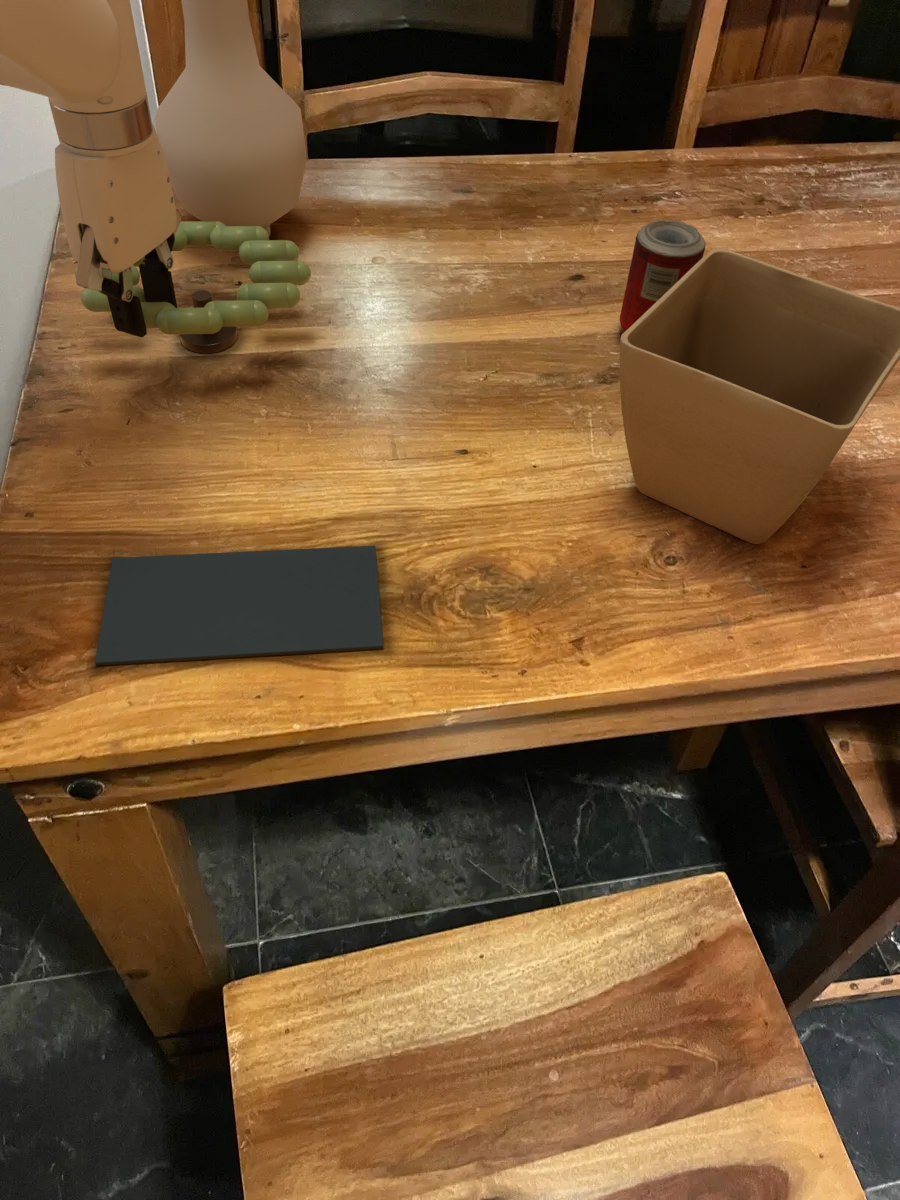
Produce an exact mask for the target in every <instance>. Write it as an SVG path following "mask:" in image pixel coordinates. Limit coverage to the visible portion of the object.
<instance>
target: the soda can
mask: <svg viewBox="0 0 900 1200" xmlns="http://www.w3.org/2000/svg"><path fill="white" fill-rule="evenodd" d="M706 245H707V243H706V240H705V238H704V236H703V234H701V233H700V232H699V231H698V229H697V228H696V227H694V226H693V225H692V224H688V223H686V222H684V221H679V220H665V219H660V220H655V221H652V222H650V223H647V224H645V225H643V226H642V227H641V228H640V229H639V230H638V231H637V233H636V236H635V240H634V246H633V251H632V256H631V261H630V266H629V270H628V275H627V281H626V285H625V290H624V296H623V298H622V299H623V300H622V305H621V309H620V315H619V323H620V327H621V329H622V334H623V333H624V332H625V331H626V330H627V329H629V328H630V327H631V326H632V325H633V324H634V323H635V322H636V321H637V320H638V319H639V318H640V317H641V316H642V315H643V314H644V313H645V312H646V311H647V310H648V309H650V308H651V307H652V306H653V305H654V304H655V303H656V302H657V301H658V300H659V299H660V298H661V297H662V296H663V295H664V294H665V293H666V292H667V291H668V290H670V289H671V288H672V287H673V286H674V285H675V284H676V283H677V282H678V281H679V280H680V279H681V278H682V277H683V276H684V275H685V274H686V273H687V272H688V271H689V270H690V269H691V268H692V267H693V266H694V265H695V264H696V263H698V262H699V261H700V260H701V259H702V258H703V257H704V256H705V255H704V254H705V250H706Z"/></svg>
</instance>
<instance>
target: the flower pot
mask: <svg viewBox="0 0 900 1200" xmlns="http://www.w3.org/2000/svg"><path fill="white" fill-rule="evenodd" d="M620 335H621V336H620V337H619V338H620V340H619V341H620V342H619V393H620V404H621V406H620V407H621V415H622V423H623V431H624V437H625V443H626V449H627V454H628V458H629V459H628V460H629V465H630V469H631V473H632V477H633V480H634V484H635V485H636V486H635V487H636V489H637V490H638V492H640V494H642V495H645V496H646V497H649V498H651V499H653V500H655V501H657V502H660V503H662V504H664V505H666V506H668V507H671V508H673V509H675V510H677V511H679V512H681V513H683V514H686V515H689V516H691V517H692V518H694V519H697V520H699V521H700V522H704V523H706V524H707V525H710V526H712V527H714V528H716V529H719V530H721V531H722V532H725V533H727V534H730V535H732V536H734V537H736V538H738V539H740V540H742V541H745V542H747V543H750V544H753V545H760V544H763V543H765V542H767V541H768V540H769V539H770V537H772V536H773V535H774V534H775V533H776V532H777V531H779V529H780V528H781V527H782V526H783V525H784V524H785V523H786V522H787V520H789V518H791V516H792V515H793V514H794V513H795V511H796V510H797V509H798V508H799V507H800V505H801V504H802V503H803V502H804V501H805V499H806V498H807V497H808V496H809V494H810V493H811V491H812V490H813V488H814V487H815V486H816V485H817V483H818V482H819V481H820V479H821V478H822V476H823V475H824V473H825V472H826V470H827V469H828V468H829V466H830V465H831V463H832V462H833V460H834V458H835V457H836V456H837V454H838V452H839V451H840V450H841V448H842V446H843V445H844V444H845V442H846V440H847V439H848V437H849V436H850V434H851V433H852V431H853V430H854V428H855V426H856V424H857V423H858V422H859V420H860V418H861V417H862V416H863V414H864V412H865V411H866V410H867V408H868V406H869V405H870V404H871V402H872V401H873V399H874V397H875V396H876V395H877V394H878V392H879V390H880V389H881V388H882V386H883V385H884V383H886V380H887V379H888V377H889V376H890V374H891V373H892V371H893V370H894V368H895V367H896V365H897V364H898V363H899V361H900V308H899V307H897V306H894V305H891V304H888V303H885V302H882V301H879V300H876V299H873V298H870V297H867V296H864V295H861V294H858V293H855V292H852V291H849V290H847V289H843V288H840V287H838V286H835V285H833V284H829V283H826V282H823V281H820V280H817V279H815V278H812V277H809V276H806V275H802V274H800V273H796V272H794V271H792V270H788V269H785V268H782V267H779V266H777V265H774V264H771V263H768V262H765V261H762V260H759V259H757V258H755V257H754V258H753V257H751V256H748V255H744V254H741V253H740V252H739V253H738V252H736V251H733V250H730V249H727V248H722V247H716V248H715V247H714V248H713V249H710V250H709V251H708V252H707V253H705V255H703V258H702V259H701V260H700V261H699V262H698V263H696V264H695V265H694V266H693V267H692V268H691V269H690V270H689V271H688V272H687V273H686V274H685V275H684V276H683V277H682V278H681V279H680V280H679V281H678V282H677V283H676V284H675V285H674V286H673V287H672V288H671V289H670V290H668V291H667V292H666V293H665V294H664V295H663V296H662V297H661V298H660V299H659V300H658V301H657V302H656V303H655V304H654V305H653V306H652V307H651V308H650V309H648V310H647V311H646V312H645V313H644V314H643V315H642V316H641V317H640V318H639V319H638V320H637V321H636V322H635V323H634V324H633V325H632V326H631V327H630V328H629V329H627V330H626V331H625V332H624V333H623V332H622V334H620Z"/></svg>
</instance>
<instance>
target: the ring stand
mask: <svg viewBox="0 0 900 1200" xmlns="http://www.w3.org/2000/svg"><path fill="white" fill-rule="evenodd" d="M191 299H192V304H193V308H204V306H205V305H206V304H207V303H209V302H211V301H214V300H213V297H212V292H211V291H209V290H206V289H201V290H200V289H199V290H196V291H194V292H193V293H192V294H191ZM178 335H179V341H180V344H182V346H183V347H184V348H185V349H187V350H189V351H191V352H194V353H197V354H213V353H219V352H222V351H225V350H227V349H229V348H230V347H232V346H233V345H234V344H235V342H236V341H237V339H238V329H237V327H222V328H221V329H220V330H219V331H218V332H216V333H213V334H178Z"/></svg>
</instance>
